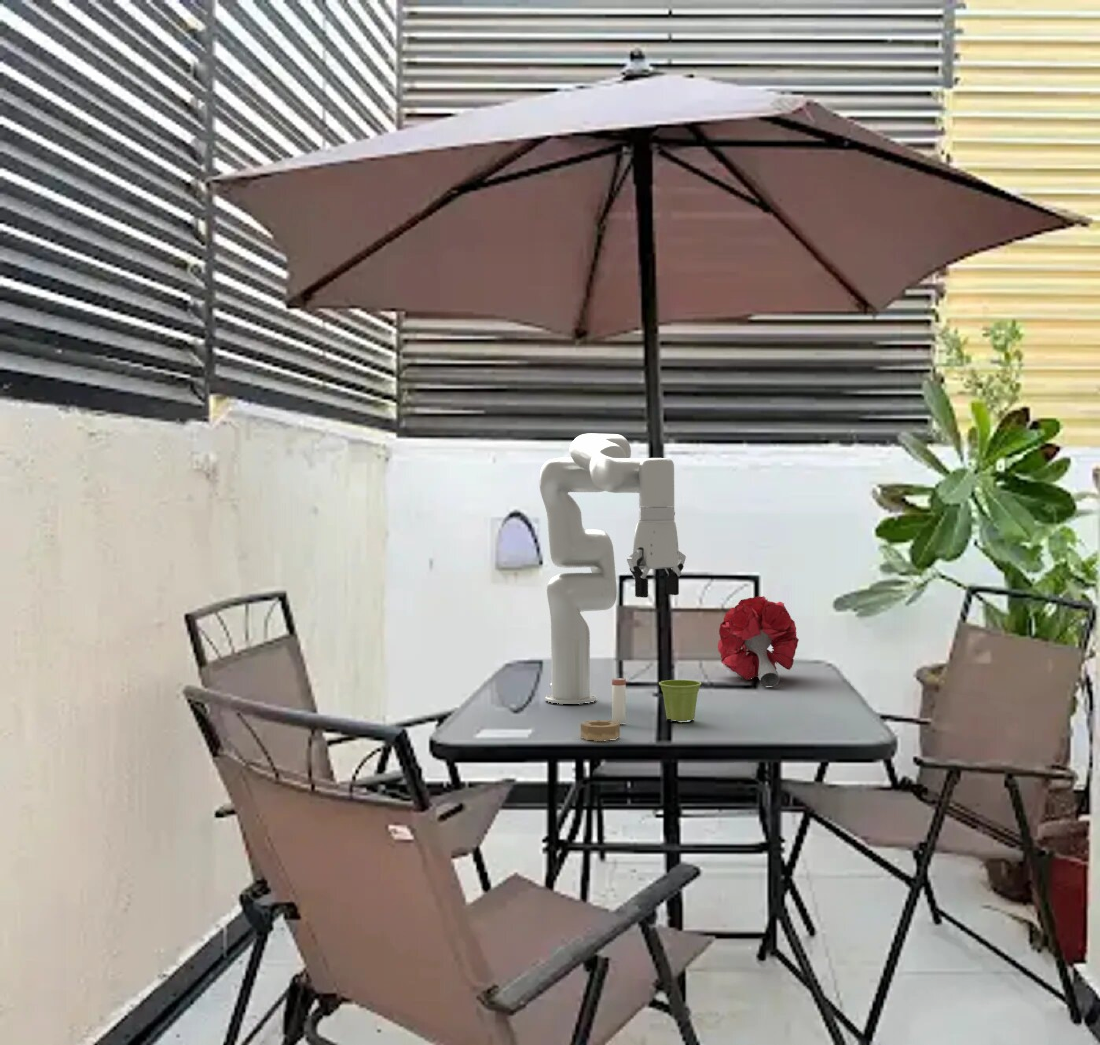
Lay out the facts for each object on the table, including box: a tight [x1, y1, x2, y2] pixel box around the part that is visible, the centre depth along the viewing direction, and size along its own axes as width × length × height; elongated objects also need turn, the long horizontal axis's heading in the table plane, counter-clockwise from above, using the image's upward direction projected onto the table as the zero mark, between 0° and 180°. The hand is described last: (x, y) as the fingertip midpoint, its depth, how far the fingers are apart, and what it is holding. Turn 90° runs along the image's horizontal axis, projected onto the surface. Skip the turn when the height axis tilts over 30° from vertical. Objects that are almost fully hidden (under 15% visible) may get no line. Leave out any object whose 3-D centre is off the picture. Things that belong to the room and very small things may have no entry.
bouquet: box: [717, 595, 800, 687], centre depth 327 cm, size 22×24×30 cm
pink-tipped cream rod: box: [611, 677, 627, 723], centre depth 265 cm, size 3×3×10 cm
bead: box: [580, 719, 621, 742], centre depth 249 cm, size 8×8×3 cm
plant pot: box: [658, 679, 702, 721], centre depth 268 cm, size 9×9×9 cm
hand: (657, 595), depth 256 cm, fingers open, 9 cm apart
